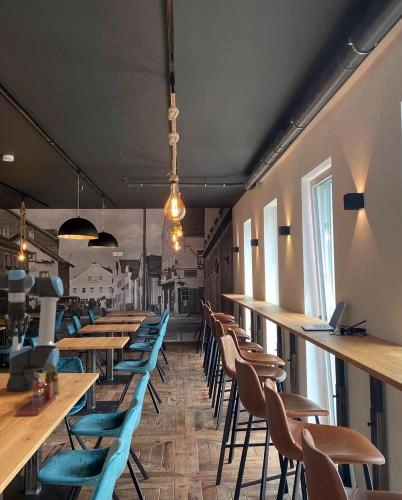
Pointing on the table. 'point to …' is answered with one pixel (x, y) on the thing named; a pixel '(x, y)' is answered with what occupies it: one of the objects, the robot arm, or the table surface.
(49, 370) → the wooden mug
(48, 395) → the nutcracker base
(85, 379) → the table surface
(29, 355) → the robot arm
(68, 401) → the table surface
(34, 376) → the nutcracker lever
